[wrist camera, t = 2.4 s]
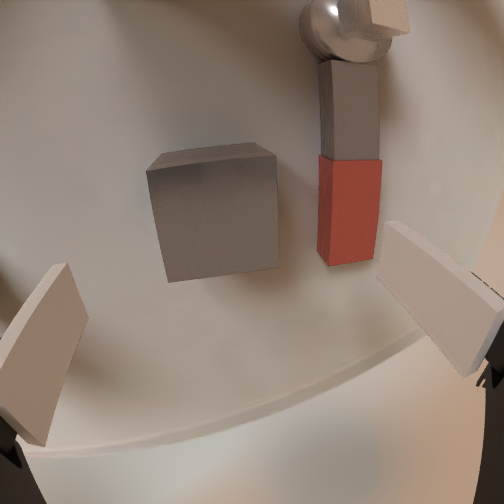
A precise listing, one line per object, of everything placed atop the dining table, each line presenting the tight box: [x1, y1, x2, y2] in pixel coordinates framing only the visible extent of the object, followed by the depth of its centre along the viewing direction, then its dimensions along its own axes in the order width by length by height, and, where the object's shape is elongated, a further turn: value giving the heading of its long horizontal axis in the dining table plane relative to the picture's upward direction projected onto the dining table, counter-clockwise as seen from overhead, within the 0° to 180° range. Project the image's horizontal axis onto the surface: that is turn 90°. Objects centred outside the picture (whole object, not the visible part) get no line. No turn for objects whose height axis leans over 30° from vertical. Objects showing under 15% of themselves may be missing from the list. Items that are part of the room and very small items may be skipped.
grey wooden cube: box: [146, 143, 279, 283], centre depth 18 cm, size 6×6×6 cm
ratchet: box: [299, 0, 410, 266], centre depth 17 cm, size 21×6×7 cm, turn 4°
